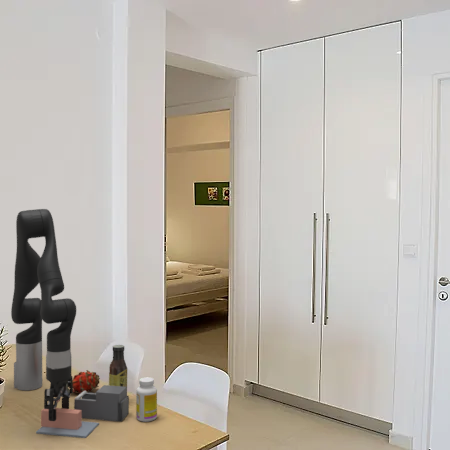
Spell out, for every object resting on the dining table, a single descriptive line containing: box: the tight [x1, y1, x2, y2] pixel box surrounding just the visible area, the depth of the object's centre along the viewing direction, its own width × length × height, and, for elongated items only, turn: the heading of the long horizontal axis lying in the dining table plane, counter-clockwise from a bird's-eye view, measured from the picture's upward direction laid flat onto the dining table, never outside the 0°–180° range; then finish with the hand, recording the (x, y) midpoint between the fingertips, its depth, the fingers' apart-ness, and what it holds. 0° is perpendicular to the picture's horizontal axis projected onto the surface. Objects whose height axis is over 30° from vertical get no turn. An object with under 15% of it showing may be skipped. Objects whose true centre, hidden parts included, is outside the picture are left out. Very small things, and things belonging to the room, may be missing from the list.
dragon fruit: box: [68, 369, 101, 394], centre depth 207 cm, size 8×8×12 cm
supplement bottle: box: [135, 376, 158, 423], centre depth 185 cm, size 7×7×13 cm
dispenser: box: [73, 384, 130, 423], centre depth 186 cm, size 16×7×9 cm, turn 80°
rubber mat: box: [35, 420, 100, 439], centre depth 176 cm, size 16×10×1 cm, turn 80°
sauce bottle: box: [108, 344, 128, 388], centre depth 198 cm, size 6×6×20 cm
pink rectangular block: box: [40, 407, 83, 430], centre depth 176 cm, size 12×3×5 cm, turn 80°
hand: (59, 415), depth 176 cm, fingers open, 8 cm apart
